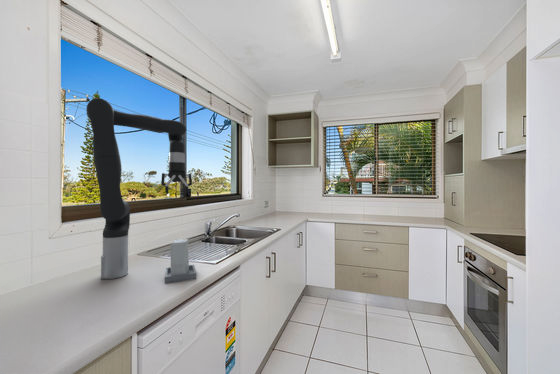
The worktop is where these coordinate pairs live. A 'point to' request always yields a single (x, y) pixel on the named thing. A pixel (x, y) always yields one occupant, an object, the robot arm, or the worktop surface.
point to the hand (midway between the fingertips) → (176, 194)
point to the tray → (181, 277)
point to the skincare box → (179, 257)
